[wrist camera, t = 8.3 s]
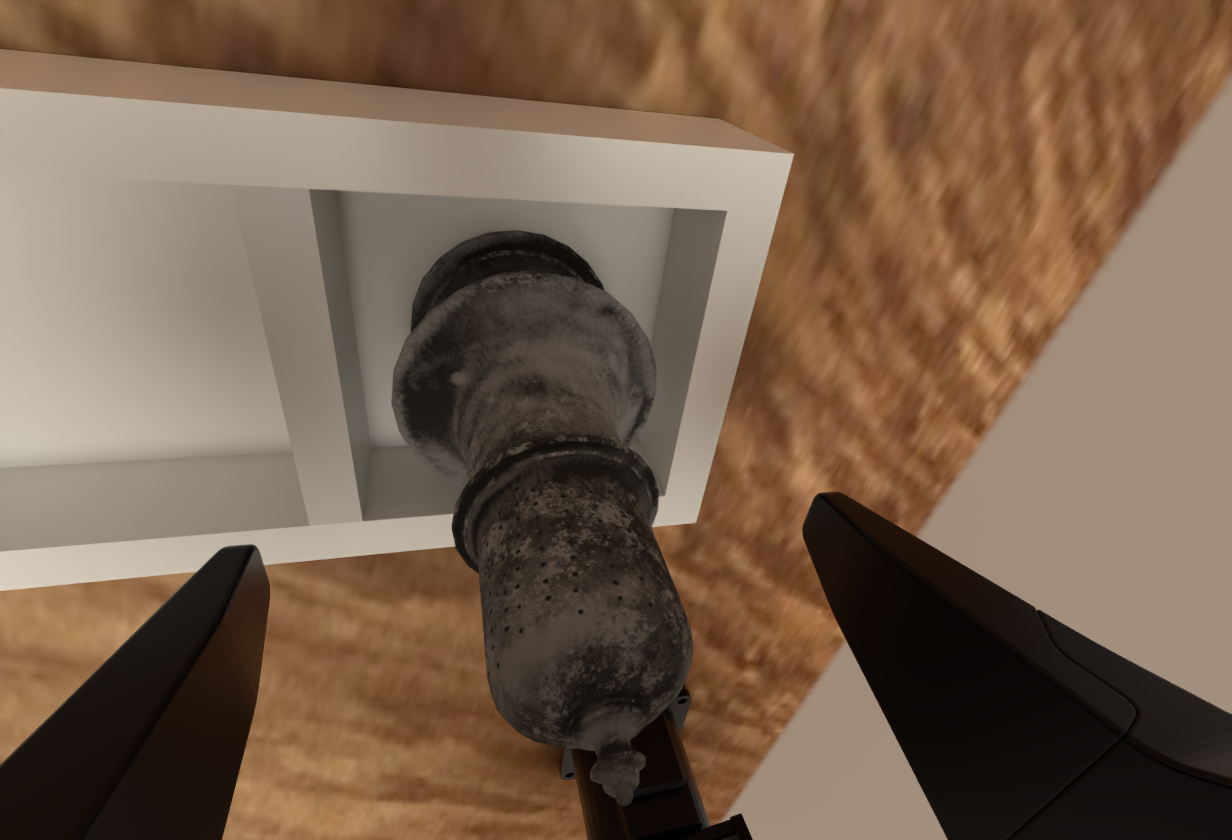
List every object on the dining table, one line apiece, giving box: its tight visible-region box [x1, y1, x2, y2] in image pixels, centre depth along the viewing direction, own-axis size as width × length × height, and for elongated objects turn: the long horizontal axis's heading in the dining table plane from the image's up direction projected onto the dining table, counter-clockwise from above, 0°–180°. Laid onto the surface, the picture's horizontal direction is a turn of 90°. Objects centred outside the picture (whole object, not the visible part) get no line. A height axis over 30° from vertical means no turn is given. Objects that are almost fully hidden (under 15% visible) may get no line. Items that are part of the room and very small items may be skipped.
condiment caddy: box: [0, 49, 794, 591], centre depth 14 cm, size 10×20×4 cm, turn 83°
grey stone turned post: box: [391, 230, 693, 806], centre depth 12 cm, size 6×6×12 cm
